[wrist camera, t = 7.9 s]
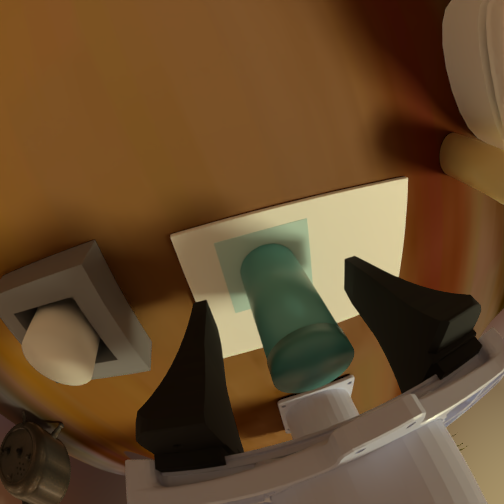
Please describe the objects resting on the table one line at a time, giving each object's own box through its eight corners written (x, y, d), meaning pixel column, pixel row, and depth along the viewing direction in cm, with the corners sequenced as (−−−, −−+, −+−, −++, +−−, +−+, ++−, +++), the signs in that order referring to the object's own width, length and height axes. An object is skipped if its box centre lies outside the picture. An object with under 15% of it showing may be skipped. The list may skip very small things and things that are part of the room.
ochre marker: (463, 173, 16) (534, 212, 10) (437, 178, 16) (516, 223, 10) (465, 131, 14) (543, 162, 8) (439, 132, 14) (526, 165, 8)
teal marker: (299, 282, 17) (351, 374, 11) (247, 299, 16) (279, 401, 11) (292, 235, 15) (356, 327, 9) (232, 253, 15) (265, 360, 9)
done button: (113, 342, 15) (107, 381, 13) (63, 352, 15) (53, 387, 12) (77, 288, 13) (61, 327, 10) (26, 303, 12) (8, 338, 10)
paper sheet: (392, 297, 20) (394, 300, 20) (220, 355, 19) (221, 359, 19) (404, 176, 15) (408, 177, 15) (170, 234, 14) (170, 237, 13)
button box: (151, 342, 17) (150, 370, 15) (63, 358, 17) (57, 383, 14) (94, 239, 13) (81, 264, 11) (3, 275, 12) (-13, 298, 10)
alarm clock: (29, 429, 22) (22, 528, 8) (1, 409, 19) (-14, 513, 6) (77, 428, 22) (76, 550, 9) (44, 405, 19) (33, 539, 6)
